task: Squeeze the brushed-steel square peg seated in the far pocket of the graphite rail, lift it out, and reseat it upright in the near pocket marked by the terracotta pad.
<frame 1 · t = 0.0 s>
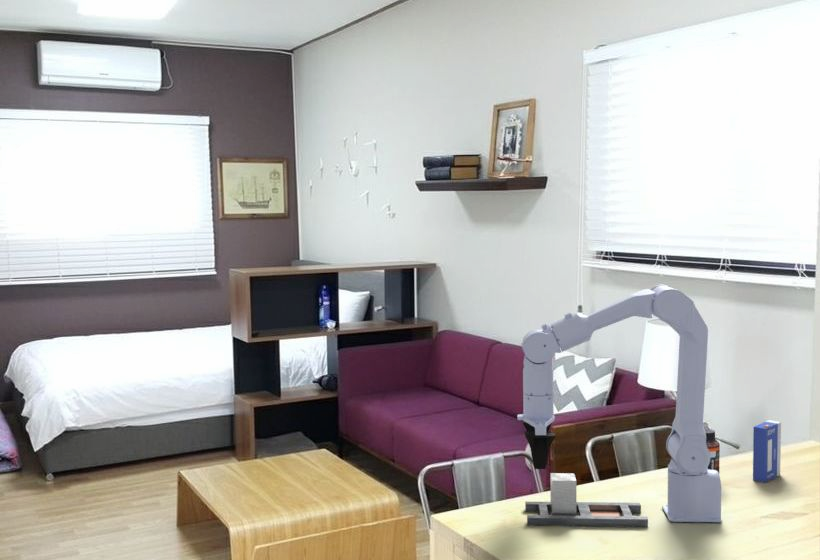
hand: (538, 462, 168), 10 cm above the table, tool pointing down, fingers open, 7 cm apart
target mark: (606, 518, 165), resting in rail
supplement bottle: (704, 483, 185), on the table
steel peg: (563, 517, 166), resting in rail
walkman: (766, 478, 188), on the table
rail: (584, 517, 166), on the table
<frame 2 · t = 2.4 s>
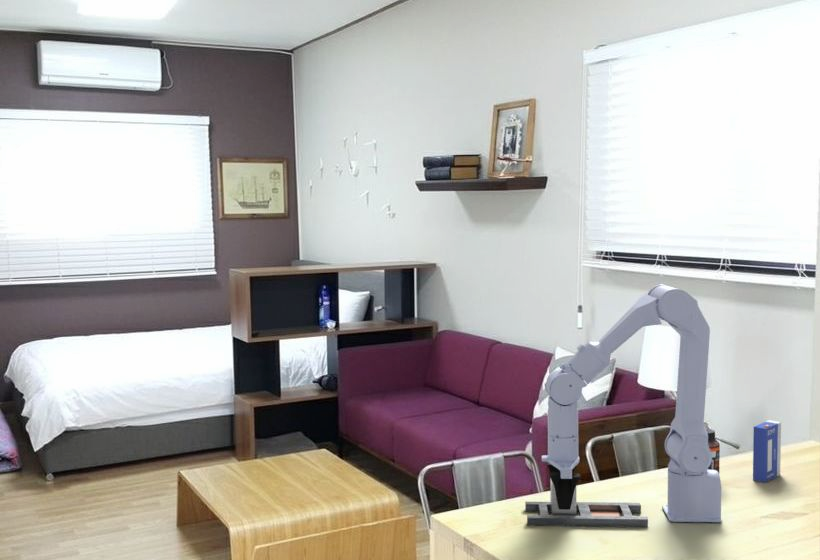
hand: (563, 504, 166), 3 cm above the table, tool pointing down, fingers closed on steel peg, 4 cm apart
steel peg: (563, 517, 166), resting in rail, touching gripper
everything else where it was.
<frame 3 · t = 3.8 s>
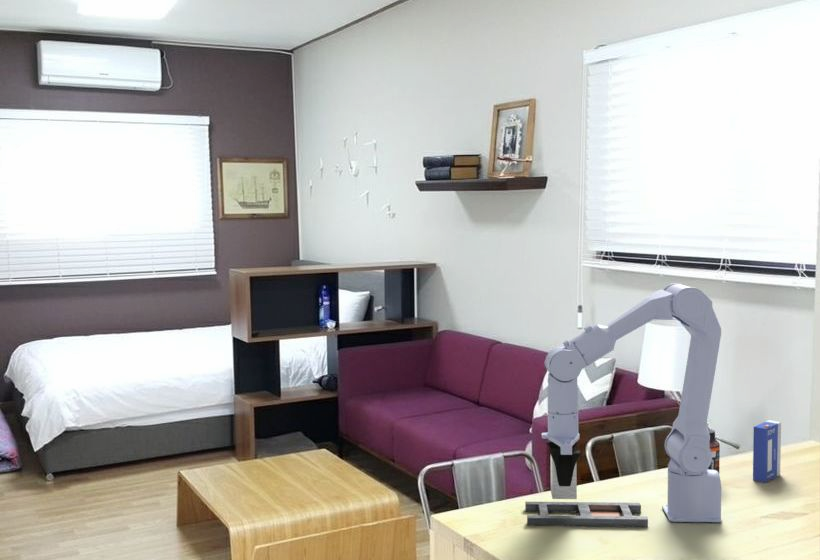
hand: (563, 481, 166), 7 cm above the table, tool pointing down, fingers closed on steel peg, 4 cm apart
steel peg: (563, 495, 166), point 4 cm above the table, touching gripper
everything else where it was.
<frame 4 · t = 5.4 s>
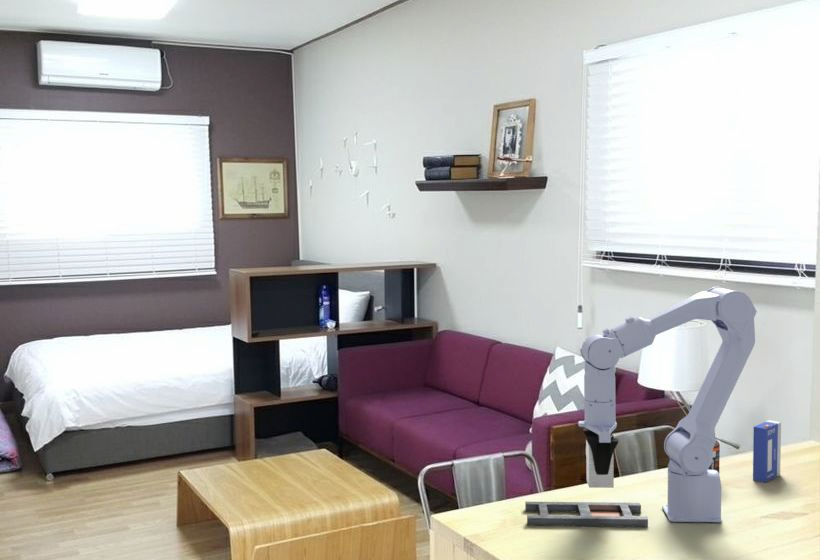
hand: (600, 470, 165), 9 cm above the table, tool pointing down, fingers closed on steel peg, 4 cm apart
steel peg: (599, 483, 165), point 7 cm above the table, touching gripper
everything else where it was.
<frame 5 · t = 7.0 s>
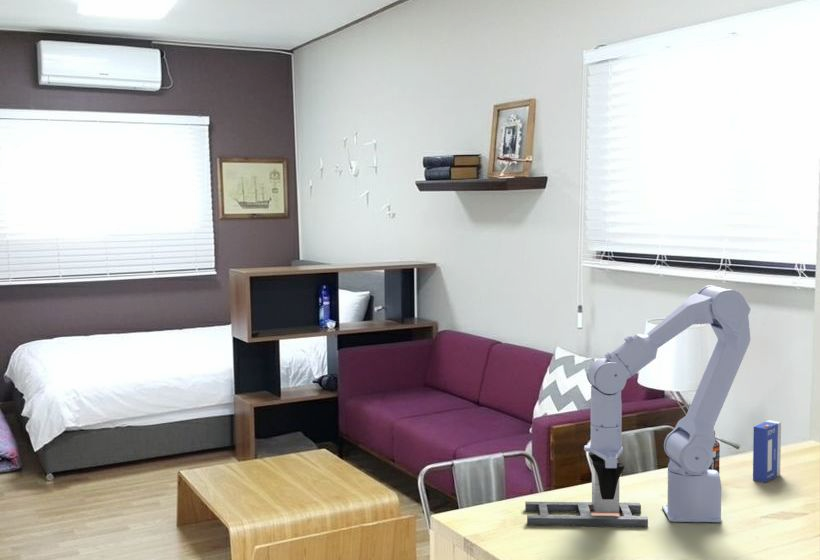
hand: (605, 494, 165), 5 cm above the table, tool pointing down, fingers closed on steel peg, 4 cm apart
steel peg: (605, 507, 165), point 2 cm above the table, touching gripper
everything else where it was.
when the fingers open (4 cm above the table, at t = 8.4 s): steel peg stays where it is, resting on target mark.
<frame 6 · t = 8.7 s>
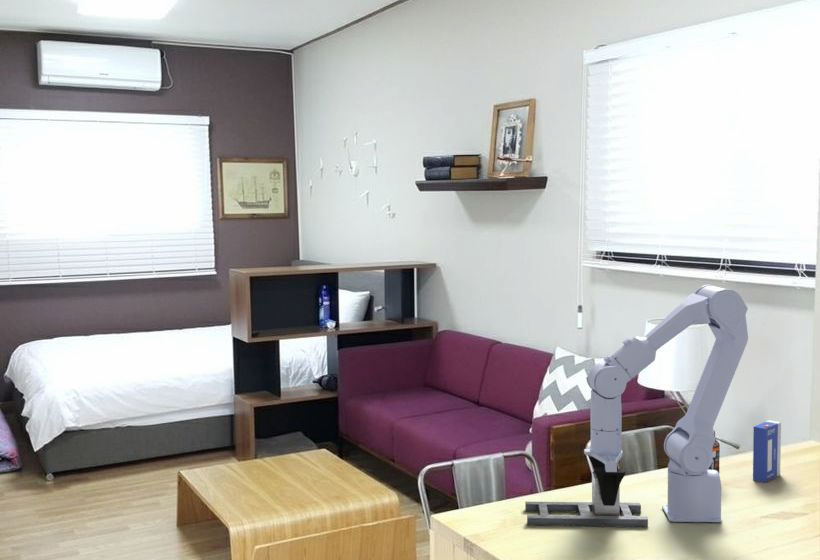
hand: (606, 498, 165), 4 cm above the table, tool pointing down, fingers open, 7 cm apart
steel peg: (605, 516, 165), resting on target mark
everything else where it was.
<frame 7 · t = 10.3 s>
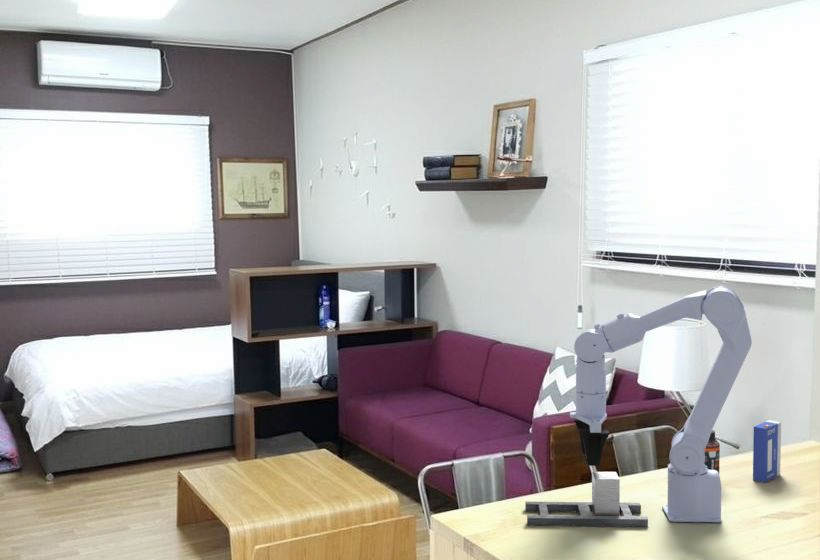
hand: (590, 459, 171), 9 cm above the table, tool pointing down, fingers open, 7 cm apart
nothing on the table moved.
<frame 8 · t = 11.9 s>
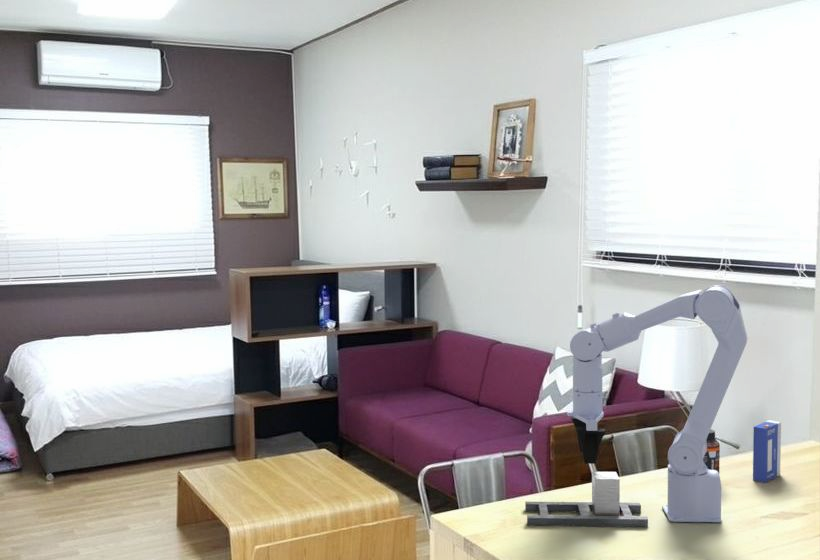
hand: (587, 457, 173), 9 cm above the table, tool pointing down, fingers open, 7 cm apart
nothing on the table moved.
at the end: steel peg 0.1 cm from the target spot, resting on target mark; steel peg tilted 0°; the gripper is holding nothing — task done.
